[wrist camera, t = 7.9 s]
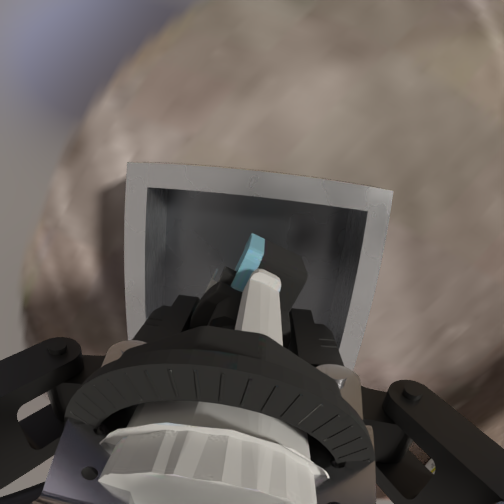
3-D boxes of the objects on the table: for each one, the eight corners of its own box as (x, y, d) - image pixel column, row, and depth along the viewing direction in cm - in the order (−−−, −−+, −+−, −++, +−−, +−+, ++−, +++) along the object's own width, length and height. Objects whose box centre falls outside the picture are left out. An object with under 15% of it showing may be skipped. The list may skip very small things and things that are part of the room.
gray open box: (373, 186, 16) (404, 193, 12) (319, 419, 20) (326, 462, 16) (150, 162, 16) (116, 162, 12) (152, 399, 20) (134, 438, 16)
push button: (262, 386, 14) (250, 592, 4) (156, 339, 14) (47, 525, 4) (337, 263, 12) (464, 473, 3) (213, 202, 12) (36, 325, 2)
